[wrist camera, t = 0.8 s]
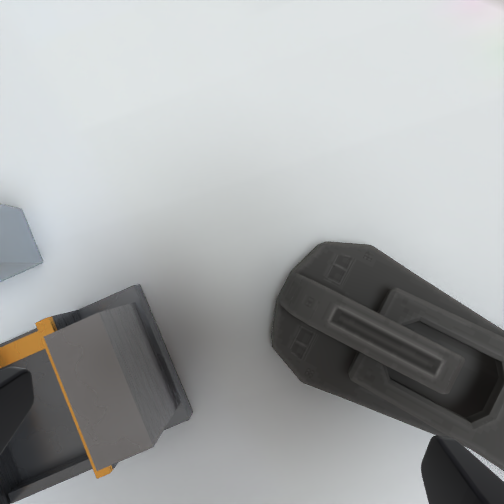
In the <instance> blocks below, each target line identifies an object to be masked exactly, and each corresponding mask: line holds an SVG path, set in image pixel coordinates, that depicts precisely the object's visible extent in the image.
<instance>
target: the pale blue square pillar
mask: <svg viewBox="0 0 504 504" xmlns="http://www.w3.org/2000/svg"><path fill="white" fill-rule="evenodd" d="M41 263H43V260H42V258H41V255H40V253H39V250H38V248H37V245H36V243H35V240H34V238H33V235H32V233H31V231H30V228H29V226H28V223H27V221H26V218H25V216H24V213H23V211H22V209H20V208H15V207H11V206H7V205H2V204H0V282H1V281H4V280H6V279H8V278H10V277H12V276H15V275H17V274H19V273H21V272H24V271H26V270H28V269H30V268H33V267H35V266H37V265H39V264H41Z"/></svg>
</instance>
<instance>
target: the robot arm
mask: <svg viewBox="0 0 504 504" xmlns="http://www.w3.org/2000/svg"><path fill="white" fill-rule="evenodd" d="M33 402H34V390H33V382H32V374H31V372H30V371H29V370H28V369H25V368H19V367H8V368H5V369H2V370H0V455H1V453H2V452H3V450H4V449H5V447H6V446H7V444H8V443H9V441H10V440H11V438H12V437H13V435H14V434H15V432H16V431H17V429H18V428H19V426H20V425H21V423H22V422H23V420H24V419H25V417H26V415H27V414H28V412H29V411H30V409H31V407H32V405H33ZM421 473H422V478H423V482H424V486H425V490H426V494H427V498H428V502H429V504H504V482H503V481H502V480H501V479H500V478H499V477H498V476H497V475H495V474H494V473H493V472H492V471H491V470H490V469H489V468H488V467H486V466H485V465H484V464H483V463H482V462H481V461H480V460H478V459H477V458H476V457H475V456H474V455H473V454H472V453H471V452H469V451H468V450H467V449H466V448H465V447H464V446H463V445H462V444H460V443H459V442H458V441H457V440H455V439H453V438H450V437H444V436H437V435H436V436H433V437H432V438H431V440H430V442H429V445H428V447H427V450H426V452H425V455H424V458H423V460H422V464H421Z"/></svg>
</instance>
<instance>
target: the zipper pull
mask: <svg viewBox="0 0 504 504" xmlns="http://www.w3.org/2000/svg"><path fill="white" fill-rule="evenodd" d="M271 337H272V347H273V348H274V350H275V351H276V352H277V353H278V354H279V356H280V357H281V358H282V359H283V361H284V362H285V363H286V364H287V365H288V367H289V368H290V369H291V370H292V371H293V373H294V374H295V375H296V376H297V377H298V379H299V380H300V381H301V382H303V383H305V384H307V385H310V386H313V387H315V388H318V389H321V390H323V391H326V392H328V393H331V394H334V395H336V396H339V397H342V398H344V399H347V400H349V401H352V402H355V403H357V404H360V405H362V406H365V407H367V408H370V409H372V410H375V411H377V412H380V413H382V414H385V415H387V416H390V417H392V418H395V419H397V420H400V421H402V422H405V423H407V424H410V425H412V426H415V427H417V428H420V429H422V430H425V431H427V432H430V433H432V434H435V435H437V436H444V437H450V438H453V439H455V440H457V441H458V442H459V443H460V444H462V445H463V446H465V447H467V448H469V449H471V450H473V451H474V452H476V453H477V454H479V455H480V456H482V457H484V458H485V459H487V460H488V461H490V462H491V463H493V464H494V465H496V466H497V467H499V468H500V469H502V470H503V471H504V330H502V329H500V328H499V327H497V326H496V325H494V324H493V323H491V322H489V321H488V320H486V319H485V318H483V317H482V316H480V315H478V314H477V313H475V312H474V311H472V310H471V309H469V308H468V307H466V306H464V305H463V304H461V303H460V302H458V301H457V300H455V299H453V298H452V297H450V296H449V295H447V294H446V293H444V292H442V291H441V290H439V289H438V288H436V287H435V286H433V285H432V284H430V283H428V282H427V281H425V280H424V279H422V278H421V277H419V276H417V275H416V274H414V273H413V272H411V271H410V270H408V269H407V268H405V267H404V266H402V265H401V264H399V263H398V262H396V261H395V260H393V259H392V258H390V257H389V256H387V255H386V254H384V253H383V252H381V251H380V250H378V249H377V248H375V247H373V246H371V245H366V244H352V243H339V242H324V243H321V244H319V245H317V246H316V247H315V248H314V249H313V250H312V251H311V252H310V253H309V254H308V255H307V256H306V257H305V258H304V259H303V260H302V261H301V262H300V263H299V264H298V265H297V266H296V267H295V268H294V269H293V270H292V271H291V272H290V274H289V276H288V278H287V280H286V282H285V284H284V286H283V288H282V290H281V292H280V294H279V296H278V298H277V300H276V307H275V314H274V321H273V328H272V335H271Z"/></svg>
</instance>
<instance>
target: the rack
mask: <svg viewBox="0 0 504 504" xmlns="http://www.w3.org/2000/svg"><path fill="white" fill-rule="evenodd" d="M35 324H36V326H37V328H36V329H34V330H32V331H30V332H27V333H25V334H23V335H21V336H18V337H16V338H14V339H12V340H9V341H7V342H5V343H3V344H0V370H2V369H5V368H8V367H19V368H25V369H28V370H29V371H30V372H31V374H32V382H33V390H34V402H33V405H32V407H31V409H30V411H29V412H28V414H27V415H26V417H25V419H24V420H23V422H22V423H21V425H20V426H19V428H18V429H17V431H16V432H15V434H14V435H13V437H12V438H11V440H10V441H9V443H8V444H7V446H6V447H5V449H4V450H3V452H2V453H1V455H0V504H11V503H14V502H16V501H18V500H21V499H23V498H25V497H28V496H30V495H32V494H35V493H37V492H39V491H42V490H44V489H46V488H49V487H51V486H53V485H56V484H58V483H60V482H63V481H65V480H67V479H70V478H72V477H74V476H77V475H79V474H81V473H84V472H86V471H88V470H91V469H93V470H94V473H95V475H96V478H97V479H98V478H100V477H102V476H105V475H107V474H109V473H111V472H112V470H113V469H114V468H115V466H116V465H117V463H118V462H120V461H122V460H124V459H127V458H129V457H131V456H134V455H136V454H138V453H141V452H143V451H145V450H148V449H150V448H152V447H154V445H155V443H156V442H157V440H158V438H159V437H160V435H161V434H162V432H163V430H166V429H168V428H170V427H173V426H175V425H177V424H180V423H182V422H184V421H187V420H189V419H190V417H191V415H192V413H193V411H192V409H191V406H190V404H189V401H188V399H187V397H186V394H185V392H184V389H183V387H182V385H181V382H180V380H179V377H178V375H177V373H176V370H175V368H174V365H173V363H172V361H171V358H170V356H169V353H168V351H167V349H166V346H165V344H164V341H163V339H162V337H161V334H160V332H159V330H158V327H157V325H156V322H155V320H154V318H153V315H152V313H151V310H150V308H149V306H148V303H147V301H146V298H145V296H144V294H143V291H142V289H141V286H140V285H133V286H131V287H129V288H127V289H124V290H122V291H120V292H118V293H115V294H113V295H111V296H109V297H106V298H104V299H102V300H100V301H97V302H95V303H93V304H91V305H88V306H86V307H84V308H82V309H79V310H76V311H72V312H68V313H64V314H60V315H56V316H51V317H48V318H46V319H43V320H41V321H39V322H37V323H35Z"/></svg>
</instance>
